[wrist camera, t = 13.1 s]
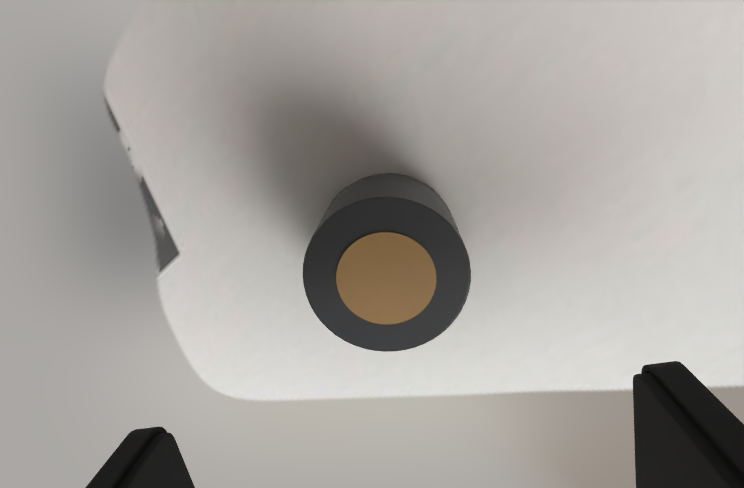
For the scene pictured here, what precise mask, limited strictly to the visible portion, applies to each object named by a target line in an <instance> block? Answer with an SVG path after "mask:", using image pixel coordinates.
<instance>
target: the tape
mask: <svg viewBox="0 0 744 488" xmlns="http://www.w3.org/2000/svg"><path fill="white" fill-rule="evenodd" d="M303 282H304V288H305V292H306V296H307V298H308V301H309V303H310V305H311V307H312V309H313V311H314V312H315V314H316V315H317V317H318V318H319V319H320V321H321V322H322V323H323V324H324V325H325V326H326V327H327V328H328V329H329V330H330V331H331V332H333V333H334V334H335V335H337V336H338V337H340V338H341V339H343V340H345V341H347V342H349V343H351V344H353V345H356V346H359V347H361V348H365V349H370V350H375V351H400V350H406V349H410V348H414V347H417V346H419V345H422V344H425V343H426V342H428V341H430V340H432V339H434V338H435V337H437V336H438V335H440V334H441V333H442V332H443V331H445V330H446V329H447V328H448V327H449V326H450V325H451V324H452V323H453V321H454V320H455V319H456V318H457V316H458V315H459V313H460V312H461V310H462V308H463V306H464V304H465V302H466V299H467V296H468V293H469V288H470V282H471V269H470V261H469V257H468V253H467V250H466V248H465V245H464V243H463V241H462V238H461V236H460V234H459V231H458V229H457V227H456V224H455V222H454V220H453V217H452V215H451V213H450V210H449V209H448V207H447V205H446V204H445V202H444V201H443V200H442V199H441V197H440V196H439V195H438V194H437V193H436V192H435V191H434V190H433V189H431V188H430V187H428V186H427V185H426V184H424V183H422V182H420V181H418V180H416V179H413V178H411V177H408V176H403V175H398V174H378V175H373V176H369V177H366V178H363V179H360V180H358V181H356V182H354V183H352V184H351V185H349V186H348V187H346V188H345V189H344V190H343V191H342V192H340V193H339V194H338V196H337V197H336V198H335V199H334V200H333V202H332V203H331V205H330V206H329V208H328V210H327V211H326V213H325V215H324V217H323V219H322V221H321V222H320V224H319V226H318V228H317V230H316V231H315V233H314V235H313V237H312V239H311V241H310V243H309V245H308V248H307V251H306V254H305V258H304V264H303Z"/></svg>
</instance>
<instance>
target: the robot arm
mask: <svg viewBox="0 0 744 488" xmlns="http://www.w3.org/2000/svg"><path fill="white" fill-rule="evenodd" d="M633 395H634V396H633V398H634V428H635V429H634V431H635V432H634V433H635V467H636V488H744V424H743V423H742V422H740V421H739V419H737V418H736V417H735V416H734V415H733V414H732V413H731V412H730V411H729V410H728V409H727V408H726V407H725V406H724V405H723V404H722V403H721V402H720V401H719V400H718V399H717V398H716V397H715V396H714V395H713V394H712V393H711V392H710V391H709V390H708V389H707V388H706V387H705V386H704V385H703V384H702V383H701V382H700V381H699V380H698V379H697V378H696V377H695V376H694V375H693V374H692V373H691V372H690V371H689V370H688V369H687V368H686V367H685V366H684V365H683V364H681V363H680V362H677V361H674V362H666V363H658V364H650V365H645V366H643V368H642V373H641V374H636V375H634V377H633ZM86 488H195V487H194V485H193V482H192V480H191V478H190V475H189V473H188V470H187V468H186V465H185V463H184V461H183V458H182V456H181V453H180V451H179V448H178V446H177V443H176V441H175V439H174V437H173V435H172V434H171V433H167V431H166V430H165V429H164V428H163V427H153V428H146V429H137V430H134V431H132V432H130V433H129V434H128V436H127V437H126V438H125V439H124V440H123V442H122V443H121V444H120V445H119V447H118V448H117V449H116V450H115V452H114V453H113V454H112V455H111V457H110V458H109V459H108V460H107V462H106V463H105V464H104V465H103V467H102V468H101V469H100V470H99V472H98V473H97V474H96V475H95V477H94V478H93V479H92V480H91V482H90V483H89V484H88V486H87V487H86Z"/></svg>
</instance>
